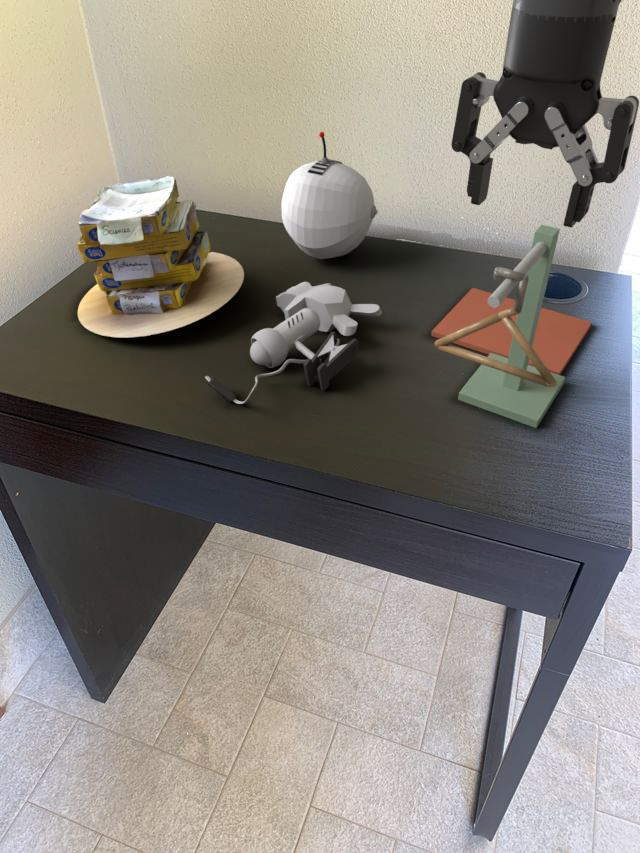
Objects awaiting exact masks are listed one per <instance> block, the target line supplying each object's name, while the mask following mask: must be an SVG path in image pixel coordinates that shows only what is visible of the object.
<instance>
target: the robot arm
mask: <svg viewBox="0 0 640 853" xmlns="http://www.w3.org/2000/svg"><path fill="white" fill-rule="evenodd" d="M621 3H622V0H512V5H511V13H510V19H509V25H508V32H507V37H506V44H505V51H504V56H503V57H504V58H503V64H502V73H501V76H500V78H499V80H495V79H491V78H487V76H486V74H485V73H484V72H481V71H479V72H476V73H474V74H472V75H471V76H469V77H468V78H466V79H464V80H463V81H462V83H461V86H460V93H459V98H458V105H457V108H456V115H455V121H454V127H453V132H452V137H451V143H450V145H451V149H452V151H454V152H455V153H462V154H463V155H465V156H466V157H467V158H468V160H469V170H468V178H467V185H466V193H467V197H469V198H471V199H470V204H471V205H475V206H481V204H483V202H485V201H486V199H487V198H488V194H489V188H490V187H489V186H490V180H491V176H492V168H493V162H494V157H491V154H492V153H494V152H495V150H496V149H497V148H498V147H500V145H502V143H503V142H505V141H506V139H508V137H511V138H512V139H513V140H515V142H514V143H515V144H520V145H532V144H533V145H536V146H538V147H540V148H542V149H547V150H553V149H555V148H559V150H560V152H561V154H562V157H563V160H564V161H565V162H566V163H568V164H569V166H570V169H571V170H572V172H573V175H574V177H575V179H576V181H575V182H574V183H573V184H572V186H571V191H570V196H569V199H568V204H567V206H566V207H567V208H566V212H565V216H564V220H563V227H567V228H571V229H572V228H573V227H574V225H576V224H577V223H580V222H581V221H582V220H583V219H584V218H585V216H586V215H587V214H588V212H589V209H590V205H591V202H592V198H593V195H594V191H595V186H596V185H597V184H601V183H605V184H613V183H614V182H615V181H617V179H618V178H619V176H620V175H622V173H623V172H624V170H625V168H626V164H627V161H628V156H629V152H630V148H631V147H630V146H631V143H632V138H633V133H634V129H635V125H636V120H637V119H636V118H637V115H638V111H639V106H640V100H639V98H638V97H637V96H636V95H628V96H626V97H625V98H617V97H606V96H605V97H604V96H603V95H602V92H601V80H602V76H603V72H604V67H605V64H606V60H607V56H608V52H609V47H610V44H611V39H612V36H613V31H614V27H615V23H616V19H617V15H618V10H619V6H620V4H621ZM491 96H493V97H492V98H493V101H494V103H495V106H496V108H497V110H498V112H499V114H500V116H501V119H500V121H498V122H497V123H496V124H495V125H494V126H493V128H492V129H491V130H490V131H488V132H487V133H486V135H484V137H483V138H482V139H480V138H479V137H477V132H478V126H479V122H480V117H481V111H482V107H484V105H487V103H488V102H489V100H490V98H491ZM597 114H600V115H601V117H602V118H603V123H602V124H603V127H604V128H605V129H606V130H608V131H609V135H608V140H607V145H606V151H605V156H604V160H603V162H599V160H598V157H597V155H596V153H595V150H594V148H593V141H592V138H591V136H590V133H589V131H588V129H587V127H586V124H587V123H588V122H590V121H591V120H592V118H594V116H596V115H597Z"/></svg>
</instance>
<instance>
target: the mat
mask: <svg viewBox="0 0 640 853" xmlns="http://www.w3.org/2000/svg"><path fill="white" fill-rule="evenodd" d="M493 293H494V292H489V291H485V290H482V289H478V288H475V287H472V288H471V289H470V290H469V291H467V293H466V294H465V295H464V296H463V297H462V298H461V299H460V300H459V301H458V303H456V305H455V306H454V307H453V308H452V309H451V310H450V311H449V312H448V313H447V314H446V315H445V316H444V318H443V319H442V320H440V322H439V323H438V324H437V325H436V326H435V327H434V328H433V329H432V330H431V337H433V338H437V339H440V338H443V337H445V336H447V335H449V334H451V333H454V332H456V331H458V330H460V329H462V328H465V327H467V326H469V325H471V324H473V323H476V322H478V321H480V320H482V319H484V318H487V317H489V316H491V315H493V314H495V313H498V312H500V311H504V310H507V309H510V308H513V307H514V304H515V299H513V298H510V297H508V296H507V297H506V298H505V299H504V301H503V302H502V303H501V304H500V305H499V306H498V307H497V308H492V307H490V306H489V304H488V298H489V297H490V296H491V295H492V294H493ZM517 315H518V314H517ZM517 315H514V316H511V319H512V320H513V321H514V323H515V324H516V320H517ZM592 324H593V321H590V320H586V319H582V318H579V317H576V316H572V315H568V314H566V313H561V312H558V311H555V310H552V309H548V308H545V307H541V312H540V316H539V320H538V324H537V328H536V333H535V337H534V341H533V345H532V348H533V349H534V350H535V352H536V353H537V354H538V356H539V357H540V359H541V360H542V361H543V363H544V364H545V366H546V367H547V368H548V370H549V371H550V372H551V373H554V374H557V375H561V376H562V373H563V371H564V370H565V368H566V366H567V365H568V364H569V362H570V361H571V359H572V357H573V356H574V355H575V353H576V351H577V350H578V348H579V346H580V345H581V343H582V341H583V340H584V338H585V337H586V336H587V334H588V333H589V331H590V329H591V328H592ZM512 339H513V336H512V335H511V333H510V332H509V330H508V329H507V328H506V326H505V325H504V324H503V322H502V321H500V322H497V323H495V324H493V325H490V326H488V327H486V328H484V329H481V330H479V331H477V332H475V333H472V334H470V335H468V336H465V337H463V338H461V339H459V340H456V341H454V342H452V343H451V344H455V345H457V346H461V347H464V348H467V349H470V350H473V351H476V352H479V353H481V354H482V353H483V354H485V355H487V356H488V355H489V354H490V353H493V354H496V355H499V356H503V357H506V358H509V353H510V348H511V343H512ZM528 365H530V366H533V367H535V366H534V365H533V363H532V362H531V361H530V359H529V362H528Z"/></svg>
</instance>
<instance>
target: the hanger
mask: <svg viewBox="0 0 640 853" xmlns="http://www.w3.org/2000/svg"><path fill="white" fill-rule="evenodd" d="M513 270H514V269H513ZM513 270H512V269H509V268H505V267H502V266H496V267H495V268H494V270H493V275H492V278H493V280H494V281H497V282H498V281H500V280H502V277H503V278H505V279H506V278H509V279H513V280H516V281H519V283H518V284H517V285H518V287H517V290H516V295H515V299H514V300H515V304H514V307H513V308H510V309H507V310H504V311H500V312H498V313H495V314H493V315H491V316H489V317H487V318H484V319H482V320H480V321H478V322H476V323H473V324H471V325H469V326H467V327H465V328H462V329H460V330H458V331H456V332H454V333H451V334H449V335H447V336H445V337H443V338H440V339H439V338H437V339H436V340H435V341H434V347H435V348H437V349H438V350H440V351H442V352H445V353H447V354H451V355H453V356H456V357H460V358H462V359H465V360H468V361H470V362H474V363H477V364H480V365H481V364H482V365H485V366H488V367H491V368H494V369H497V370H500V371H503V372H506V373H508V374H511V375H514V376H517V377H520V378H523V379H526V380H529V381H532V382H535V383H537V384H540V385H543V386H546V387H554V386H555V385H556V384H557V381H556V379H555V378H554V377H553V375H552V374H551V372H550V371H549V370H548V368H547V367H546V366H545V364H544V363H543V361H542V360H541V359H540V357H539V356H538V354H537V353H536V352H535V350H534V349H533V348H532V346H531V345H530V343H529V342H528V341H527V339H526V338H525V337H524V335H523V334H522V332H521V331H520V330H519V328H518V327H517V325H516V324H515V323H514V321H513V320H512V319H511V316H514V315H517V314H520V313H521V311H522V307H523V302H524V298H525V294H526V289H527V285H528V280H529V276H528V275H527V274H524V273H520V272H517V271H513ZM500 321H502V322H503V324H504V325H505V326H506V328H507V329H508V330H509V332H510V333H511V335H512V336H513V337H514V339H515V340H516V341H517V343H518V344H519V346H520V347H521V348H522V350H523V351H524V352H525V354H526V355H527V357H528V358H529V359H530V361H531V362H532V363H533V365H534V366H535V368H536V369H537V370H538V372H539V373H540V374H541V375H539V374H536V373H533V372H530V371H527V370H524V369H521V368H518V367H515V366H512V365H509V364H506V363H503V362H500V361H497V360H494V359H491V358H488V356H485V355H482V354H479V353H476V352H473V351H470V350H468V349H465V348H462V347H460V346H459V347H458V346H456V345H453V343H452V342H454V341H456V340H459V339H461V338H463V337H465V336H468V335H470V334H472V333H475V332H477V331H479V330H481V329H484V328H486V327H488V326H490V325H493V324H495V323H497V322H500Z"/></svg>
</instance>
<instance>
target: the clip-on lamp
mask: <svg viewBox="0 0 640 853" xmlns="http://www.w3.org/2000/svg"><path fill="white" fill-rule="evenodd" d="M319 327H320V318H319V316H318V314H317V313H316V312H315V311H314V310H312V309H309V308H304V309H302V310H300V311H299V312H297V313H296V314H294V315H293V316H291V317H290V318H288V319H287V320H284V321H282V322H280V323H279V324H278V325H276V326H274V327H273V328H271V327H266V328H262V329H260V330H259V331H256V332H255V333H254V334H253V335H252V336H251V338H250V344H251V346H250V349H249V356H250V358H251V360H252V361H253V362H254V363H255V364H257V365H259V366H266V367H267V368H270V369H272V368H276V367H279V366H280V365H282V366H281V367H280V368H279V369H278V370H277V369H276V370H275V371H273V372H268V373H267V372H266V373H260V374H256V376H255V377H254V381H255V383H254V385H253V387H252V389H251V390H250V392H249V393H248V396H247V397H246V399H245V400H243V401H241V400H238V399H237V398H236V397H237V395H236V394H235V393H233V392H232V390H230V389H228V388H227V387H226V386H225V385H224V384H223V383H221V381H219V380H218V379H216V377H212V378H211V377H210V376H209V375H205V376H204V378H205V380H206V381H207V382H208V383H207V385H208V386H209V387H210V388H211V389H212V390H214V391H215V392H216V393H217V394H218V395H220V396H221V397H222V398H224V399H225V400H226V401H227V402H228V403H231V404H232V402H234V403H235V404H237V405H244V404H245V403H246V402H248V401H249V399H250V398H251V396H252V395H253V393H254V391H255V390H256V388H257V386H258V383H259V379H261V378H267V377H272V376H275V375H278V374H280V373H282V372H283V371H284V370H285V369H286V368H287V366H288V365H289V364H300V365H301V364H303V370H304V374H305V375H304V376H305V379H306V384H307V386H308V387H312V386H313V385H314V383H315V382H316V376H318V377H317V378H318V382H319V387H320V390H321V391H323V392H324V391H326V390H327V389H328V387H329V386H330V381H331V380H332V378H333V377H335V376H336V375H337V374H338V373H339V372H340V371H341V370H342V369H343V368H344V367H345V366H346V365H347V364H348V363H349V362H350V361H351V360H352V359H353V358H354V357H355V356H356V355H357V354H358V352H359V350H360V349H359V348H360V347H359V341H358V339H356V338H353V339H351V340H349V342H348V343H345V344H341V345H340V342H341V341H340V339H339V338H338V334H337V332H335V331H330V332H329V335H328V336H327V337H326V339H325V340H324V342H322V344H321V346H320V347H319V348H318V350H317V351H316V352H313V351H312V350H311V349H309V348H308V347H307V346H305V344H304V343H303V342H305V340H307V339H308V338H310V337H312V336H313V335H314V334H315V333H317V332H318V331H319V330H318V329H319ZM295 348H296V350H297V351H299V352H300V353H301V354H302V355H303V356H305V357H306V358H307V359H296V358H289V359H287V358H288V355H289V352H290V351H291V350H293V349H295Z"/></svg>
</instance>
